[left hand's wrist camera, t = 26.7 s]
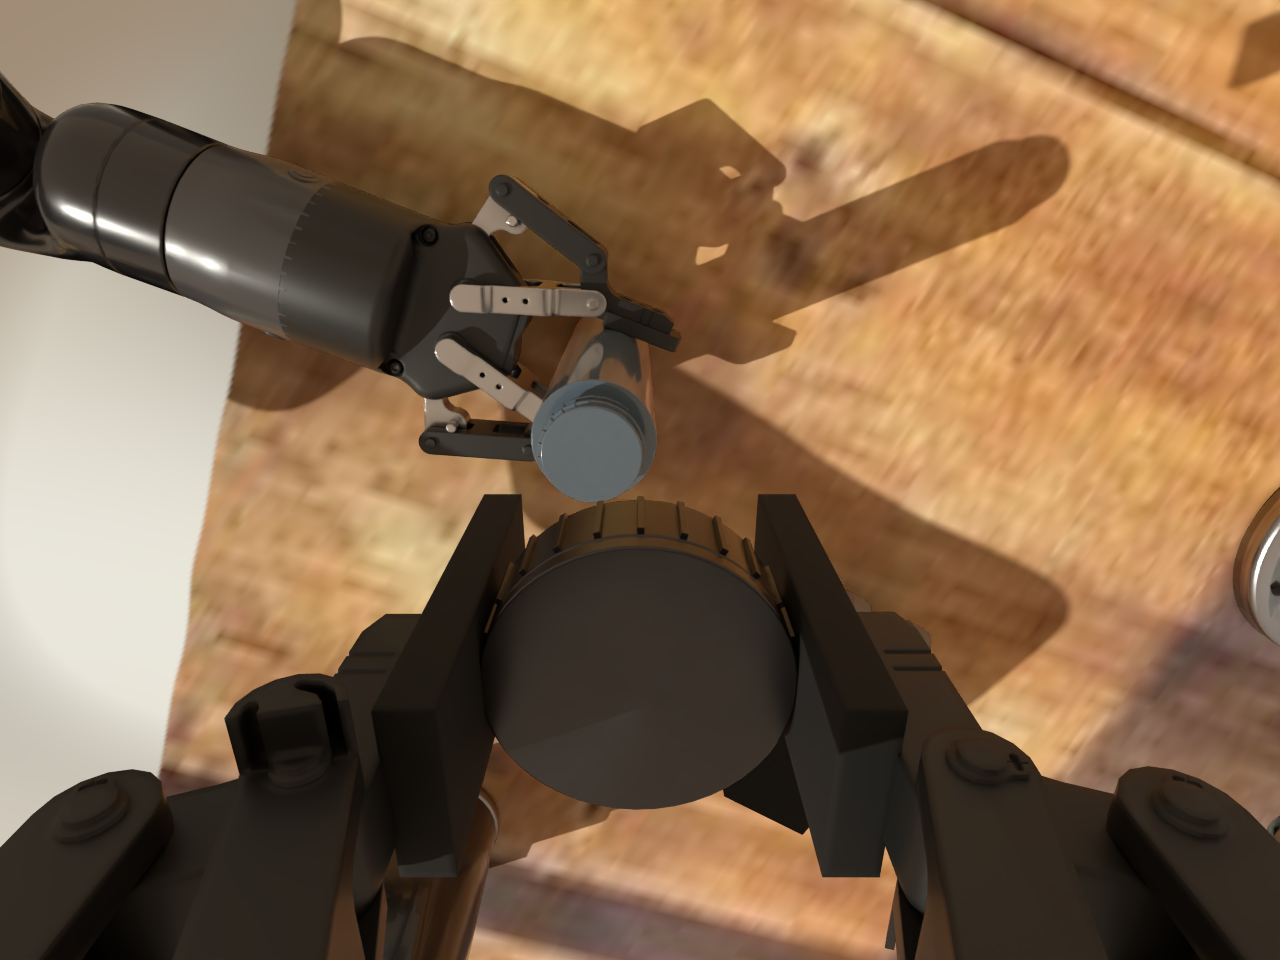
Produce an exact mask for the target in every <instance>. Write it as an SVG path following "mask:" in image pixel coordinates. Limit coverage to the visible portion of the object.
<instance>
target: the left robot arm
mask: <svg viewBox="0 0 1280 960" xmlns="http://www.w3.org/2000/svg"><path fill="white" fill-rule="evenodd" d="M524 550H525V540H524V525H523V511H522V496H521V494H484V496H483V498H482V500H481V502H480V504H479V506H478V508H477V509H476V511H475V513H474V515H473V517H472V519H471V521H470V523H469V525H468V527H467V529H466V530H465V532H464V534H463V536H462V538H461V540H460V542H459V544H458V546H457V548H456V550H455V551H454V553H453V555H452V557H451V559H450V561H449V563H448V565H447V567H446V569H445V571H444V572H443V574H442V576H441V578H440V580H439V582H438V584H437V586H436V588H435V590H434V592H433V593H432V595H431V597H430V599H429V601H428V603H427V605H426V607H425V609H424V611H423V612H422V614H385V615H384V616H383V617H381V618H380V619H379V620H377V621H376V622H375V623H373V624H372V625H371V626H369V627H368V628H366V629H365V630H364V631H362V633H361V634H360V636H359V638H358V639H357V641H356V642H355V644H354V645H353V647H352V648H351V650H350V652H349V656H346V658H345V659H344V661H343V663H342V664H341V666H340V667H339V669H338V674H335V675H334V677H331V676H327V675H323V674H297V675H293V676H289V677H285V678H281V679H277V680H274V681H272V682H269V683H267V684H265V685H263V686H261V687H259V688H256V689H254V690H253V691H251V692H250V693H249V694H247V695H246V696H244V697H243V698H242V699H240V700H239V701H238V702H236V703H235V704H234V706H233V707H232V709H231V710H230V711H229V713H228V714H227V715H226V717H225V718H224V719H225V723H226V726H227V730H228V734H229V737H230V741H231V745H232V748H233V752H234V756H235V759H236V763H237V767H238V770H239V774H240V775H239V778H238V779H235V780H232V781H229V782H226V783H222V784H219V785H215V786H211V787H207V788H202V789H198V790H194V791H189V792H185V793H181V794H177V795H172V796H168V797H166V794H165V791H164V788H163V785H162V782H161V781H160V780H159V779H158V778H157V777H156V776H154V775H153V774H152V773H151V772H145V771H140V770H133V769H131V770H123V771H116V772H109V773H105V774H102V775H100V776H97V777H94V778H91V779H88V780H85V781H82V782H80V783H78V784H76V785H75V786H73V787H71V788H69V789H67V790H65V791H64V792H62V793H60V794H58V795H56V796H55V797H53V798H52V799H51V800H50V801H48V802H47V803H46V804H45V805H44V806H42V807H41V808H40V809H39V810H37V811H36V812H35V813H34V814H33V815H32V816H31V817H30V818H29V819H28V820H27V821H26V822H25V823H24V824H23V825H22V826H21V827H20V828H19V829H18V830H17V831H16V832H15V833H14V834H13V835H12V836H11V837H10V838H9V839H8V840H7V841H6V842H5V843H4V844H3V845H2V846H1V847H0V960H383V952H384V940H385V929H386V918H387V901H386V894H385V888H384V883H383V878H384V875H385V873H386V870H387V867H388V865H389V862H390V859H391V857H392V854H393V851H394V849H395V852H396V857H397V863H398V869H399V875H400V877H457V876H458V872H459V868H460V865H461V861H462V857H463V854H464V850H465V846H466V842H467V839H468V835H469V831H470V827H471V824H472V820H473V816H474V813H475V809H476V805H477V801H478V798H479V794H480V790H481V786H482V783H483V779H484V775H485V772H486V768H487V764H488V760H489V757H490V753H491V749H492V746H493V742H494V738H495V735H494V733H493V731H492V729H491V727H490V725H489V723H488V721H487V719H486V716H485V711H484V703H483V693H482V684H481V673H480V656H481V650H482V647H483V644H484V641H485V634H484V632H485V629H486V626H487V623H488V620H489V618H490V615H491V612H492V609H493V606H494V604H495V603H494V602H495V599H496V596H497V594H498V591H499V588H500V585H501V583H502V580H503V577H504V574H505V571H506V569H507V566H508V564H509V563H510V562H512V563H515V562H516V561H517V559H518V558H519V556H520V555H521V554H522V552H523V551H524ZM754 552H755V554H756V555H757V556H758V558H759V559H760V561H761V562H762V564H763V565H764V567H766V566H768V565H769V566H770V568H771V570H772V573H773V576H774V579H775V581H776V584H777V587H778V590H779V593H780V595H781V598H782V601H783V604H784V606H785V609H786V612H787V615H788V618H789V621H790V623H791V626H792V629H793V632H794V635H795V640H794V642H793V646H794V649H795V653H796V658H797V666H798V686H797V695H796V701H795V706H794V709H793V712H792V714H791V717H790V720H789V723H788V725H787V727H786V729H785V730H784V736H785V740H786V743H787V747H788V751H789V755H790V758H791V762H792V766H793V769H794V773H795V777H796V781H797V784H798V788H799V792H800V796H801V799H802V803H803V807H804V810H805V814H806V818H807V822H808V825H809V829H810V833H811V836H812V840H813V844H814V848H815V851H816V855H817V859H818V863H819V866H820V870H821V874H822V877H880V872H881V866H882V861H883V855H884V849H885V846H886V849H887V852H888V854H889V857H890V860H891V862H892V865H893V868H894V870H895V873H896V876H897V883H896V888H895V894H894V899H893V904H892V909H891V915H890V920H889V925H888V931H887V937H886V944H885V948H887V949H892V950H894V947H895V942H896V950H897V960H1280V816H1278V817H1277V818H1276V819H1274V820H1273V821H1272V822H1271V823H1270V824H1269V826H1268V828H1267V830H1266V829H1265V828H1264V827H1263V826H1262V825H1261V824H1260V823H1259V822H1258V821H1257V820H1256V819H1255V818H1254V817H1253V816H1252V815H1251V814H1250V813H1249V812H1248V811H1247V810H1246V809H1245V808H1243V807H1242V806H1241V805H1240V804H1238V803H1237V802H1236V801H1235V800H1234V799H1232V798H1231V797H1230V796H1229V795H1227V794H1226V793H1224V792H1223V791H1221V790H1219V789H1217V788H1215V787H1213V786H1212V785H1210V784H1208V783H1206V782H1204V781H1202V780H1201V779H1198V778H1195V777H1193V776H1190V775H1187V774H1184V773H1181V772H1178V771H1175V770H1172V769H1164V768H1157V767H1150V766H1147V767H1141V768H1135V769H1130V770H1128V771H1127V772H1126V773H1125V774H1124V775H1123V776H1121V777H1120V778H1119V780H1118V783H1117V786H1116V789H1115V792H1114V794H1111V793H1107V792H1103V791H1098V790H1094V789H1090V788H1086V787H1081V786H1077V785H1073V784H1068V783H1064V782H1060V781H1057V780H1054V779H1051V778H1047V777H1044V776H1041V774H1040V772H1039V771H1038V769H1037V768H1036V766H1035V765H1034V763H1033V761H1032V760H1031V758H1030V757H1029V756H1027V755H1026V754H1025V753H1024V752H1023V751H1022V750H1020V749H1019V748H1018V747H1017V746H1016V745H1014V744H1013V743H1011V742H1009V741H1007V740H1006V739H1004V738H1002V737H1000V736H998V735H996V734H994V733H992V732H988V731H984V730H982V729H981V727H980V725H979V724H978V722H977V721H976V719H975V718H974V716H973V715H972V713H971V712H970V710H969V708H968V707H967V705H966V704H965V702H964V701H963V699H962V698H961V696H960V694H959V693H958V691H957V690H956V688H955V687H954V685H953V684H952V682H951V680H950V679H949V677H948V676H947V674H946V673H945V671H942V666H941V665H940V663H939V662H938V660H937V659H936V657H935V656H934V654H931V649H930V648H929V646H928V645H927V643H926V642H925V640H924V639H923V637H922V635H921V634H920V632H919V631H918V629H916V628H915V627H914V626H912V625H911V624H910V623H908V622H907V621H906V620H904V619H903V618H902V617H900V616H899V615H898V614H896V613H895V612H857V611H856V610H855V608H854V606H853V604H852V602H851V600H850V598H849V596H848V594H847V592H846V590H845V589H844V587H843V585H842V583H841V581H840V579H839V577H838V575H837V573H836V571H835V569H834V568H833V566H832V564H831V562H830V560H829V558H828V556H827V554H826V552H825V550H824V548H823V547H822V545H821V543H820V541H819V539H818V537H817V535H816V533H815V531H814V529H813V527H812V526H811V524H810V522H809V520H808V518H807V516H806V514H805V512H804V510H803V508H802V506H801V505H800V503H799V501H798V499H797V497H796V495H795V494H758V504H757V519H756V534H755V549H754ZM1233 589H1234V594H1235V599H1236V602H1237V604H1238V607H1239V609H1240V611H1241V613H1242V614H1243V616H1244V617H1245V619H1246V620H1247V621H1248V622H1249V623H1250V624H1251V626H1252V627H1254V628H1255V629H1256V630H1257V631H1258V632H1260V633H1261V634H1263V635H1264V636H1265V637H1267V638H1268V639H1270V640H1271V641H1273V642H1274V643H1275V644H1277V645H1278V646H1280V488H1279V489H1278V490H1277V491H1276V492H1275V493H1274V494H1273V495H1272V496H1271V497H1270V499H1269V500H1268V501H1267V502H1266V503H1265V504H1264V506H1263V507H1262V508H1261V509H1260V511H1259V512H1258V513H1257V515H1256V516H1255V517H1254V519H1253V521H1252V522H1251V524H1250V525H1249V527H1248V529H1247V531H1246V533H1245V535H1244V537H1243V539H1242V541H1241V544H1240V546H1239V549H1238V552H1237V555H1236V559H1235V564H1234V569H1233Z"/></svg>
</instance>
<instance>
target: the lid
mask: <svg viewBox="0 0 1280 960" xmlns="http://www.w3.org/2000/svg"><path fill="white" fill-rule="evenodd" d="M494 603H495V604H494V606H493V609H492V612H491V615H490V618H489V620H488V623H487V626H486V629H485V632H484V634H485V641H484V644H483V647H482V650H481V656H480V673H481V684H482V693H483V703H484V711H485V716H486V719H487V721H488V723H489V725H490V727H491V729H492V731H493V733H494V735H495V737H496V738H497V740H498V741H499V743H500V744H501V746H502V747H503V748H504V750H505V751H506V752H507V753H508V754H509V755H510V757H511V758H512V759H513V760H514V761H515V762H516V763H517V764H518V765H519V766H520V767H522V768H523V769H524V770H525V771H526V772H527V773H529V774H530V775H531V776H533V777H534V778H536V779H537V780H539V781H540V782H542V783H543V784H545V785H546V786H548V787H550V788H552V789H554V790H556V791H558V792H560V793H562V794H564V795H567V796H570V797H572V798H575V799H578V800H580V801H584V802H588V803H592V804H595V805H600V806H606V807H612V808H620V809H657V808H664V807H672V806H677V805H681V804H685V803H689V802H693V801H696V800H699V799H702V798H704V797H707V796H710V795H712V794H714V793H716V792H719V791H721V790H723V789H725V788H727V787H729V786H730V785H732V784H733V783H735V782H737V781H738V780H740V779H741V778H743V777H744V776H745V775H747V774H748V773H749V772H750V771H752V770H753V769H754V768H755V767H757V766H758V765H759V764H760V762H761V761H762V760H763V759H764V758H765V757H766V756H767V755H768V754H769V753H770V752H771V750H772V749H773V748H774V746H775V745H776V744H777V742H778V741H779V740H780V738H781V736H782V734H783V732H784V730H785V729H786V727H787V725H788V723H789V720H790V717H791V714H792V712H793V709H794V706H795V701H796V695H797V686H798V666H797V658H796V653H795V649H794V646H793V642H794V640H795V635H794V632H793V629H792V626H791V623H790V621H789V618H788V615H787V612H786V609H785V606H784V604H783V601H782V598H781V595H780V593H779V590H778V587H777V584H776V581H775V579H774V576H773V573H772V570H771V568H770V566H769V565H768V566H766V567H764V565H763V564H762V562H761V561H760V559H759V558H758V556H757V555H756V554H755V552H754V551H753V548H752V545H751V542H750V540H749V539H748V538H747V537H746V538H745V539H741V538H740V537H739V536H738V535H737V534H736V533H734V532H733V531H732V530H731V529H729V528H728V527H726V526H725V525H723V524H722V522H721V518H720V517H718V516H716V515H715V516H714V518H711V517H709V516H707V515H705V514H703V513H701V512H698V511H696V510H693V509H690V508H687V507H685V505H684V503H683V502H680V501H678V502H677V505H676V504H671V503H666V502H661V501H648V500H644V497H643V496H638V497H637V500H628V501H617V502H611V503H605V504H604V501H603V500H601V501H597V505H596V506H594V507H590V508H587V509H584V510H581V511H579V512H576V513H574V514H572V515H570V516H567V515H566V513H565V514H563V515H561V516H560V518H559V522H557V523H555V524H554V525H552V526H550V527H549V528H548V529H546V530H545V531H544V532H543V533H541V534H540V535H539V536H538V537H536V536H535V535H532V536H531V537H530V538H529V541H528V544H527V547H526V549H525V550H524V551H523V552H522V554H521V555H520V556H519V558H518V559H517V561H516V562H515V563H512V562H510V563H509V564H508V566H507V569H506V571H505V574H504V577H503V580H502V583H501V585H500V588H499V591H498V594H497V596H496V599H495V602H494Z"/></svg>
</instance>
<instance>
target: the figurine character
mask: <svg viewBox="0 0 1280 960" xmlns="http://www.w3.org/2000/svg"><path fill="white" fill-rule="evenodd" d="M846 592H847V594H848V596H849V598H850V600H851V602H852V604H853V606H854V608H855V610H856V611H857V612H871V606H870V604H869V602H867V601H866V600H864V599H862V598H861V597H859V596H857V595H855V594H854V593H852V592H850V591H846ZM906 621H907V622H908V623H910V624H911V625H912V626H914V627H915V628H916V629H918V631H919V632H920V634H921V635H922V637H923V639H924V640H925V642H926V643H927V645H928V646H929V648H930V649H931V638H930V635H929V633H928V632H927V631H926V630H925V629H923V628H921V627H919V626H918V625H916V624H914V623H912V622H911V621H908V620H906ZM723 792H724V796H725V797H727V798H729V799H731V800H733V801H735V802H737V803H739V804H741V805H743V806H745V807H747V808H749V809H751V810H753V811H755V812H757V813H759V814H761V815H763V816H765V817H767V818H769V819H771V820H773V821H775V822H777V823H779V824H781V825H783V826H785V827H788V828H790V829H792V830H794V831H796V832H798V833H800V834H802V835H803V834H804V833H805V831H806V830H807V829H808V828H809V825H808V822H807V818H806V814H805V810H804V807H803V803H802V799H801V796H800V792H799V788H798V784H797V781H796V777H795V773H794V769H793V766H792V762H791V758H790V755H789V751H788V747H787V743H786V740H785V736H784V732H783V734H782V736H781V738H780V740H779V741H778V742H777V744H776V745H775V746H774V748H773V749H772V750H771V752H770V753H769V754H768V755H767V756H766V757H765V758H764V759H763V760H762V761H761V762H760V764H759V765H758V766H757V767H755V768H754V769H753V770H752V771H750V772H749V773H748V774H747V775H745V776H744V777H743V778H741V779H740V780H738V781H737V782H735V783H733V784H732V785H730V786H729V787H727V788H725V789H723Z"/></svg>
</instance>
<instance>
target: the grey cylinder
mask: <svg viewBox="0 0 1280 960" xmlns="http://www.w3.org/2000/svg"><path fill="white" fill-rule="evenodd" d="M602 324H603V320H602V319H599V318H596V317H582V318H581V319H580V321H579V322H578V324H577V325H576V327H575V329H574V331H573V334H572V336H571V338H570V340H569V342H568V345H567V347H566V349H565V351H564V353H563V356H562V358H561V360H560V362H559V364H558V367H557V369H556V371H555V373H554V376H553V378H552V380H551V382H550V384H549V387H548V389H547V391H546V393H545V395H544V398H543V400H542V402H541V404H540V406H539V409H538V411H537V413H536V416H535V418H534V421H533V425H532V429H531V446H532V452H533V455H534V458H535V460H536V462H537V465H538V467H539V468H540V470H541V471H542V473H543V474H544V475H545V476H546V478H547V479H548V480H549V481H550V482H551V483H552V484H553V486H554V487H556V488H557V489H558V490H559V491H560V492H562V493H563V494H565V495H566V496H568V497H570V498H573V499H575V500H579V501H583V502H597V501H601V500H603V501H607V500H610V499H613V498H615V497H617V496H619V495H620V494H622V493H623V492H625V491H627V490H629V489H631V488H632V487H634V486H635V485H636V484H637V483H638V482H639V481H640V480H641V479H642V478H643V477H644V476H645V475H646V473H647V472H648V470H649V469H650V467H651V465H652V463H653V460H654V457H655V453H656V448H657V433H656V422H655V411H654V399H653V388H652V377H651V366H650V355H649V344H648V343H647V342H644V341H642V340H639V339H636V338H634V337H631V336H628V335H626V334H624V333H621V332H618V331H615V330H613V329H610V328H607V327H605V326H602Z"/></svg>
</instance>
